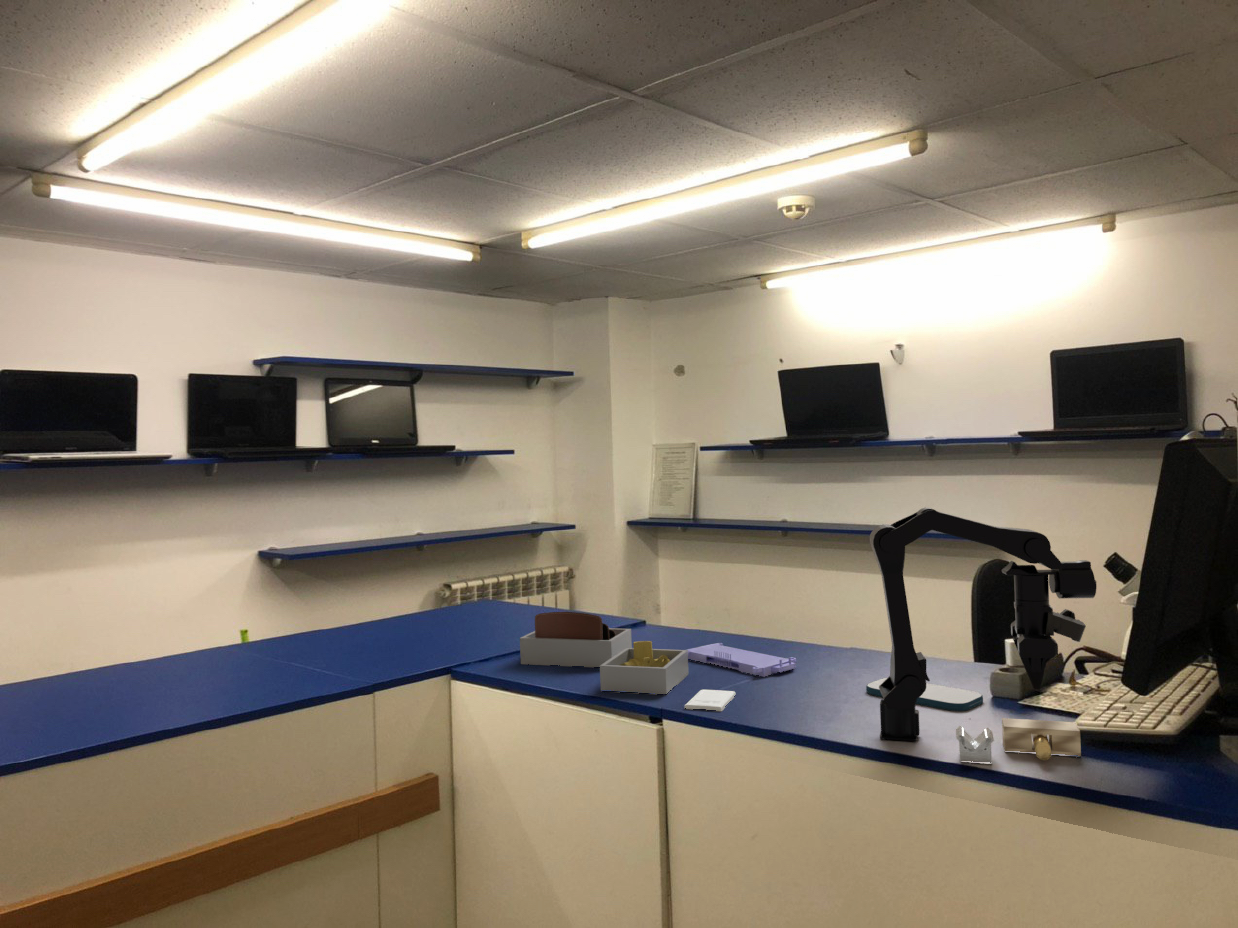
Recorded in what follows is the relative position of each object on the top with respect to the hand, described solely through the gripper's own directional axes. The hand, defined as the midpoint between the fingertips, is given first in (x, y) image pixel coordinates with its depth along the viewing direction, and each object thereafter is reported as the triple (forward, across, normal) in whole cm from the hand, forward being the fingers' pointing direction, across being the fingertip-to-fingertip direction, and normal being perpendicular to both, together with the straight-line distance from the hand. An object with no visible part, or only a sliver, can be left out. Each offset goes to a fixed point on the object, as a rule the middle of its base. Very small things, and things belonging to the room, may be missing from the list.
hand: (1034, 683), depth 164 cm
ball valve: (+10, +25, +82) cm, 86 cm away
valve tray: (+10, +24, +83) cm, 87 cm away
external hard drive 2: (+11, +24, +20) cm, 33 cm away
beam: (+10, -7, 0) cm, 12 cm away
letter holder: (+10, +43, +109) cm, 117 cm away
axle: (+8, -9, 0) cm, 12 cm away
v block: (+10, -14, +11) cm, 20 cm away
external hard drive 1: (+11, +11, +64) cm, 66 cm away
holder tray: (+10, +44, +109) cm, 118 cm away
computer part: (+11, +46, +65) cm, 80 cm away
